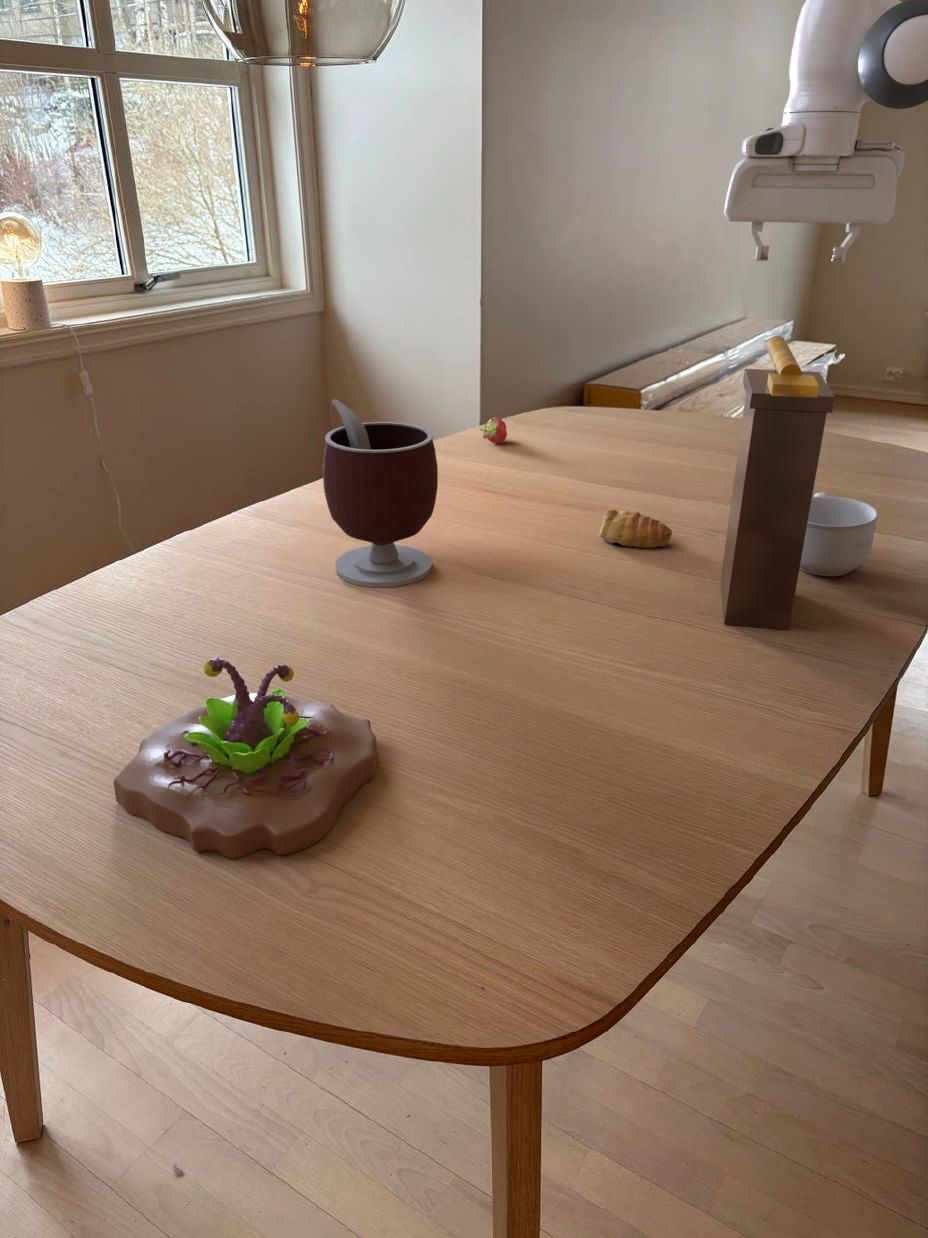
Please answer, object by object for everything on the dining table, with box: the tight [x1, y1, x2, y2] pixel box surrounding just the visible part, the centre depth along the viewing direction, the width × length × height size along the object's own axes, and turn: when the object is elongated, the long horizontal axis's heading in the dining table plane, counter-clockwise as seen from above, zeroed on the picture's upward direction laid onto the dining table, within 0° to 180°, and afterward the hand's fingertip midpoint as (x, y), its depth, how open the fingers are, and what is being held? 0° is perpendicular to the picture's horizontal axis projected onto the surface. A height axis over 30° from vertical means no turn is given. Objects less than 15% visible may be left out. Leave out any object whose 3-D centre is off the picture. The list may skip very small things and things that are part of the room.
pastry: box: [598, 508, 673, 549], centre depth 129 cm, size 9×7×4 cm
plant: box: [113, 657, 378, 860], centre depth 78 cm, size 20×20×11 cm
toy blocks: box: [766, 335, 819, 398], centre depth 103 cm, size 4×22×2 cm, turn 168°
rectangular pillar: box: [720, 368, 836, 631], centre depth 106 cm, size 8×12×26 cm, turn 168°
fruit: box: [479, 416, 508, 444], centre depth 171 cm, size 4×6×5 cm
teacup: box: [799, 492, 879, 577], centre depth 121 cm, size 14×11×8 cm
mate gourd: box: [322, 398, 439, 588], centre depth 117 cm, size 16×14×20 cm
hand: (799, 261), depth 122 cm, fingers open, 8 cm apart
